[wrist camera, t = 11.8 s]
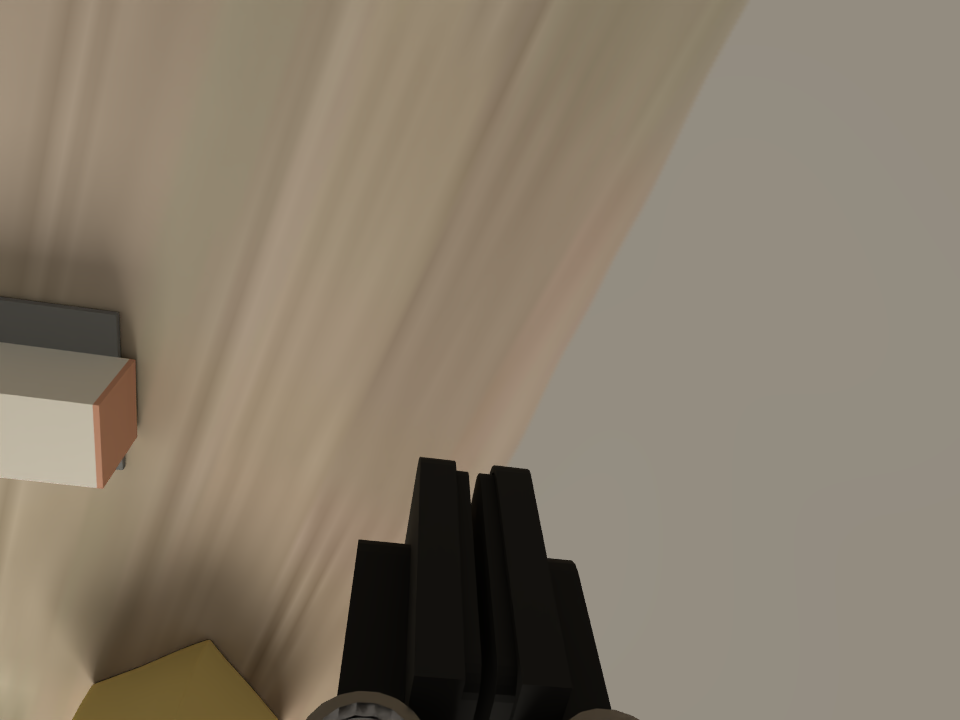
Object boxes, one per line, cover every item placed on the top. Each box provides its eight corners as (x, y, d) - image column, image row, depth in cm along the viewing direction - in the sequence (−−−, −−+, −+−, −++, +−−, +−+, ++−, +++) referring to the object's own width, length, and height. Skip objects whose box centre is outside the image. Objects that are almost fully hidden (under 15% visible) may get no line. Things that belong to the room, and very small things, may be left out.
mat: (-124, 280, 39) (-130, 283, 38) (119, 312, 40) (116, 315, 40) (-93, 442, 43) (-98, 446, 43) (125, 466, 45) (122, 470, 44)
